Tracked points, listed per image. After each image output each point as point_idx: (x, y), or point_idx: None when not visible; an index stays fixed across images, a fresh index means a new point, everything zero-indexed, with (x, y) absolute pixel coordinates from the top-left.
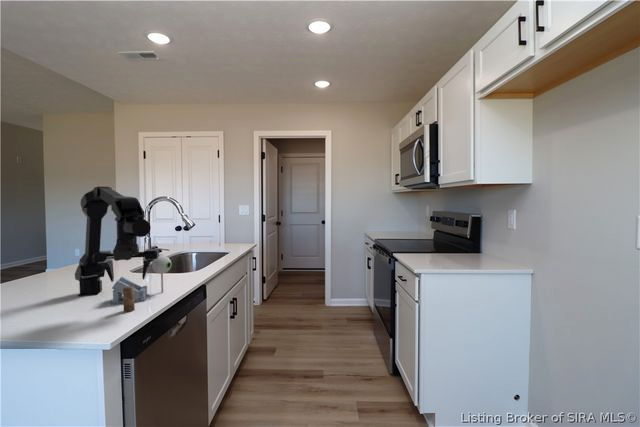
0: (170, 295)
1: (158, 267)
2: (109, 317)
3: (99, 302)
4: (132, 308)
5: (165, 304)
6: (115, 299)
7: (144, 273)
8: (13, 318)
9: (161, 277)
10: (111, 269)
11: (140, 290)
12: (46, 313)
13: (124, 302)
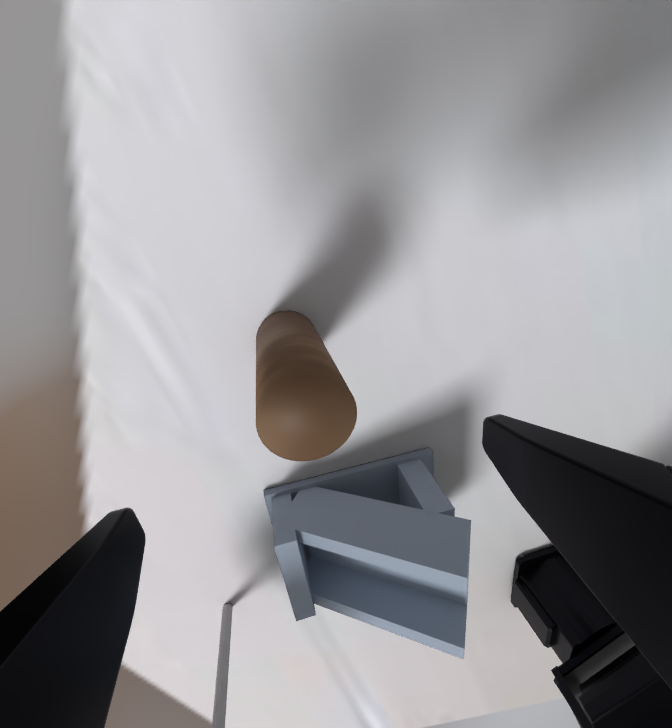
0: (152, 573)
1: None
2: (360, 228)
3: (483, 474)
4: (260, 331)
5: (89, 432)
6: (416, 471)
7: (29, 598)
8: None
9: (220, 718)
10: (659, 562)
11: (294, 542)
12: (655, 350)
13: (312, 334)
